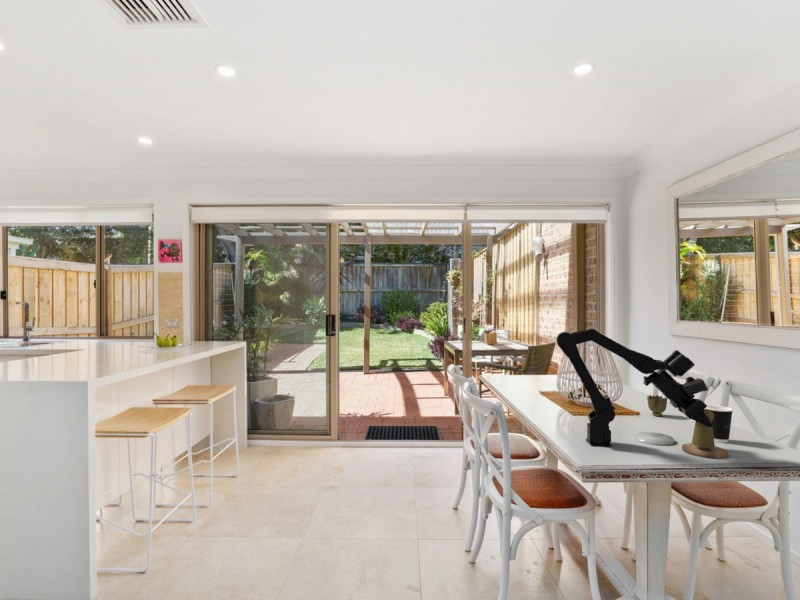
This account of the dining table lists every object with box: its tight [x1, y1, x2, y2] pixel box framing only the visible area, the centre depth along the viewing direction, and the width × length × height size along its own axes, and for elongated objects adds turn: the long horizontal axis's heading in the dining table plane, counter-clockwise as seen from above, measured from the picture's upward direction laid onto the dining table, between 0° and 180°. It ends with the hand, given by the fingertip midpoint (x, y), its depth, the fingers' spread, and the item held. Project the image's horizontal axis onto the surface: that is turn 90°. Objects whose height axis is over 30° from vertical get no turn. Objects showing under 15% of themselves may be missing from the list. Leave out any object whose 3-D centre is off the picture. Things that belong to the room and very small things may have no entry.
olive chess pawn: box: [691, 408, 716, 448], centre depth 142 cm, size 6×6×11 cm
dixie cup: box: [705, 405, 734, 444], centre depth 155 cm, size 8×8×11 cm
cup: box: [646, 394, 668, 417], centre depth 190 cm, size 8×7×8 cm
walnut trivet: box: [681, 442, 729, 460], centre depth 142 cm, size 12×12×1 cm
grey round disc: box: [633, 431, 675, 447], centre depth 155 cm, size 12×12×1 cm
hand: (708, 424), depth 142 cm, fingers closed on olive chess pawn, 5 cm apart
